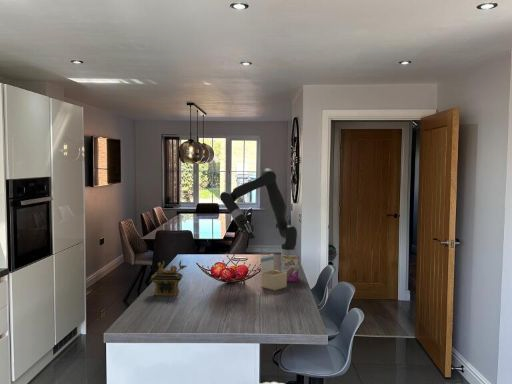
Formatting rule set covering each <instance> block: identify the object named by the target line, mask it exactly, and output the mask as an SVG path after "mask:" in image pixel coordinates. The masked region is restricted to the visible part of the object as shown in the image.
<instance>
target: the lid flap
mask: <svg viewBox="0 0 512 384" xmlns="http://www.w3.org/2000/svg"><path fill="white" fill-rule="evenodd" d="M274 258H275V254H274V253H271V254H267V255H265V254H264V255H261V256H260V273H261V274H262V273H263V272H267V271H271V270H275V269H274V268H275V259H274Z"/></svg>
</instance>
